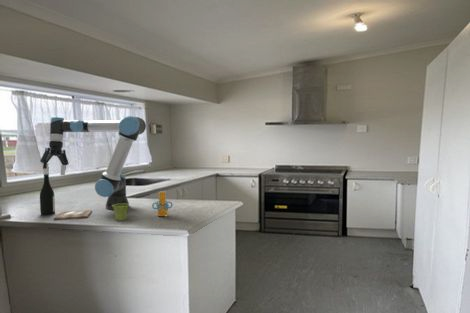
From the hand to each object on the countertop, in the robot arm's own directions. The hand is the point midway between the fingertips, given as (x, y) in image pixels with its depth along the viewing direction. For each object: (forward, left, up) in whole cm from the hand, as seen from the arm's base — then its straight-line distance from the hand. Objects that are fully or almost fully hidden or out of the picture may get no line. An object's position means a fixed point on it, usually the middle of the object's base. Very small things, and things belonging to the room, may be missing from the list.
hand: (54, 174), depth 205 cm
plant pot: (-41, +26, -25) cm, 55 cm away
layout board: (-12, +9, -25) cm, 29 cm away
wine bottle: (+5, -1, -25) cm, 25 cm away
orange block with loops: (-65, +24, -25) cm, 74 cm away
